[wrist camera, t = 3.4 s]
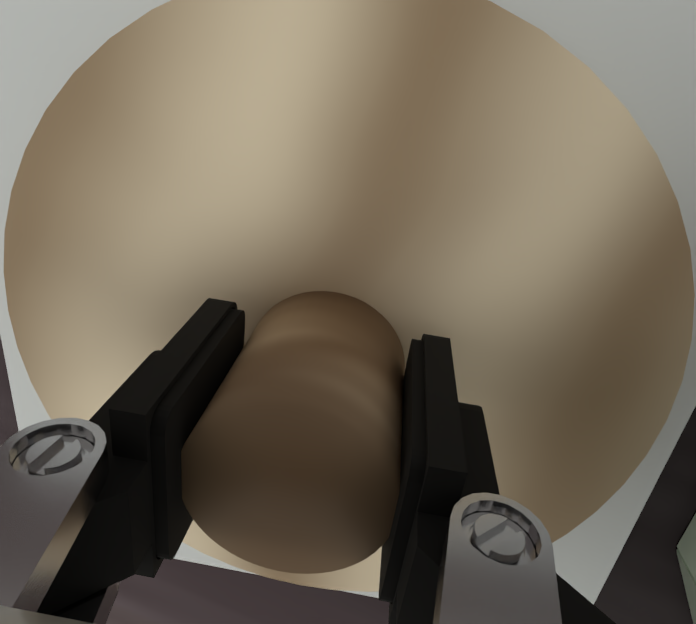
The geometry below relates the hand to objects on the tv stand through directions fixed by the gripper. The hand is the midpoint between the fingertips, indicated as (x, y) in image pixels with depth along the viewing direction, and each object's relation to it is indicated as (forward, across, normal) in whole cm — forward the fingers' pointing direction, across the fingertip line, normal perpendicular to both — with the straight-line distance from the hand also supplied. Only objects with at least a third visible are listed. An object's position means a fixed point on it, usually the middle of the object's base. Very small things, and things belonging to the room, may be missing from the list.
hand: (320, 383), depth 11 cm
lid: (+2, 0, 0) cm, 2 cm away
